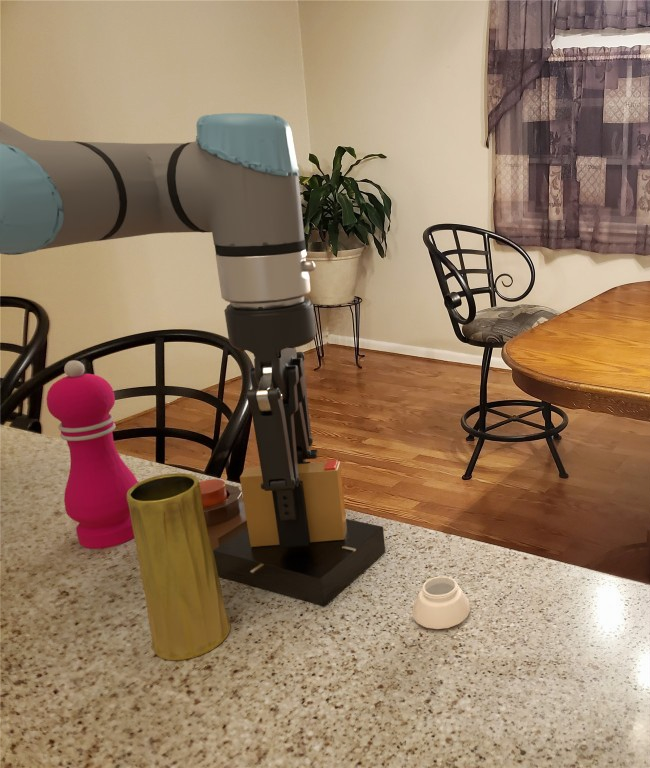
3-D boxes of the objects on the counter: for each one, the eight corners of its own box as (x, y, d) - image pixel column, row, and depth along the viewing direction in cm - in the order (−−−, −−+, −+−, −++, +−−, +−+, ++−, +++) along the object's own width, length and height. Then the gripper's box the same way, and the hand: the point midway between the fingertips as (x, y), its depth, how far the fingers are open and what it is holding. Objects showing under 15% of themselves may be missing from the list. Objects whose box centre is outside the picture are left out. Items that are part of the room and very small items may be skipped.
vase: (181, 672, 55) (148, 512, 50) (137, 646, 58) (103, 493, 53) (245, 629, 60) (220, 480, 55) (202, 607, 63) (175, 464, 58)
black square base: (313, 617, 61) (309, 587, 60) (203, 586, 66) (198, 557, 65) (394, 544, 72) (392, 518, 71) (295, 522, 78) (292, 497, 77)
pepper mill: (58, 544, 74) (13, 367, 68) (117, 514, 80) (80, 349, 74) (106, 557, 71) (62, 373, 65) (163, 524, 78) (128, 354, 72)
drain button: (184, 505, 74) (181, 490, 74) (210, 491, 78) (208, 476, 77) (209, 510, 73) (206, 495, 72) (234, 496, 76) (232, 481, 76)
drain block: (152, 538, 75) (145, 505, 74) (209, 506, 82) (204, 475, 81) (221, 556, 71) (215, 522, 70) (275, 521, 78) (270, 489, 77)
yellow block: (250, 547, 67) (239, 474, 64) (256, 535, 69) (245, 465, 67) (344, 539, 68) (336, 468, 65) (347, 528, 70) (339, 458, 67)
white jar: (427, 640, 58) (479, 619, 60) (425, 610, 57) (478, 591, 59) (404, 609, 62) (454, 591, 64) (402, 581, 61) (452, 564, 63)
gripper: (294, 317, 53) (325, 577, 61) (325, 283, 69) (347, 492, 76) (194, 322, 53) (238, 585, 60) (248, 286, 69) (278, 497, 76)
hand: (299, 532), depth 68 cm, fingers open, 4 cm apart
